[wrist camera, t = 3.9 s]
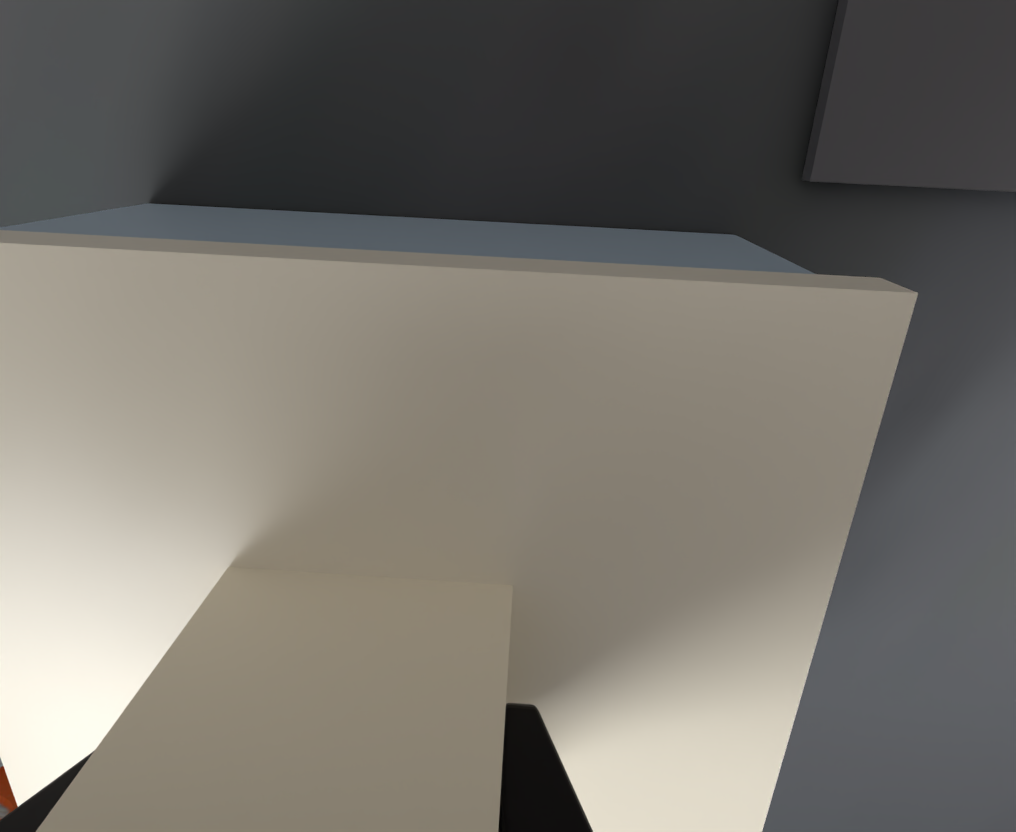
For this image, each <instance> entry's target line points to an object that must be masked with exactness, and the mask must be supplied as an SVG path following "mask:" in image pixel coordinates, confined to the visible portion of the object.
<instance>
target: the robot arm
mask: <svg viewBox="0 0 1016 832" xmlns="http://www.w3.org/2000/svg"><path fill="white" fill-rule="evenodd" d="M94 751H95V750H94ZM94 751H93V752H94ZM93 752H92V753H90V754H89V755H88V756H86V757H85V758H83V759H82V760H81V761H79V762H78V763H77V764H75V765H74V766H73V767H71V768H70V769H68V770H67V771H66V772H64V773H63V774H62V775H60V776H59V777H58V778H56V779H55V780H54V781H52V782H51V783H49V784H48V785H47V786H45V787H44V788H43V789H41V790H40V791H39V792H37V793H36V794H35V795H33V796H32V797H30V798H29V799H28V800H26V801H25V802H24V803H22V804H21V805H20V806H18V807H17V808H15V809H14V810H13V811H11V812H10V813H9V814H7V815H6V816H5V817H3V818H2V819H1V820H0V832H36V831H37V829H38V828H39V826H40V825H41V824H42V822H43V821H44V820H45V818H46V817H47V815H48V814H49V813H50V811H51V810H52V809H53V807H54V806H55V804H56V803H57V802H58V800H59V799H60V798H61V796H62V795H63V793H64V792H65V791H66V789H67V788H68V787H69V785H70V784H71V782H72V781H73V780H74V778H75V777H76V776H77V774H78V773H79V771H80V770H81V769H82V767H83V766H84V765H85V763H86V762H87V760H88V759H89V758H90V756H91V755H92V754H93ZM498 832H593V830H592V828H591V825H590V823H589V821H588V819H587V817H586V814H585V812H584V810H583V808H582V805H581V803H580V801H579V799H578V797H577V794H576V792H575V790H574V788H573V785H572V783H571V781H570V779H569V777H568V774H567V772H566V770H565V768H564V765H563V763H562V761H561V759H560V757H559V754H558V752H557V750H556V748H555V746H554V743H553V741H552V739H551V737H550V734H549V732H548V730H547V728H546V726H545V723H544V721H543V719H542V717H541V714H540V712H539V710H538V709H537V707H536V706H534V705H532V704H521V703H507V704H506V710H505V727H504V744H503V761H502V778H501V795H500V812H499V828H498Z"/></svg>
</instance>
